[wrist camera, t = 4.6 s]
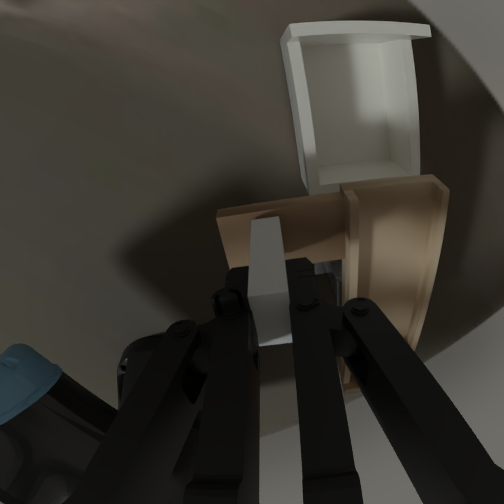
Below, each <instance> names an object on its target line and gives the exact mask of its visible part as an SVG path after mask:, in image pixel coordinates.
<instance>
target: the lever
mask: <svg viewBox="0 0 504 504" xmlns="http://www.w3.org/2000/svg"><path fill="white" fill-rule="evenodd" d="M339 185H340V192H333V193H325V194H318V195H310V196H303V197H296V198H289V199H282V200H275V201H268V202H262V203H255V204H249V205H242V206H236V207H230V208H224V209H218V210H217V215H216V220H217V224H218V228H219V232H220V235H221V239H222V243H223V246H224V250H225V254H226V257H227V261H228V265H229V268H230V269H231V268H235V267H242V266H249V257H250V237H251V220H256V219H262V218H269V217H276V216H279V220H280V227H281V233H282V240H283V247H284V254H285V260H288V259H295V258H302V257H306V258H307V259H308V260H310V261H311V262H312V263H319V262H326V261H332V260H339V259H342V306H344V304H345V303H346V302H347V301H348V300H350V299H352V298H357V297H364V298H368V299H371V300H372V301H373V302H375V303H376V304H377V306H378V307H379V308H380V309H381V311H382V312H383V313H384V314H385V315H386V317H387V318H388V319H389V320H390V322H391V323H392V324H393V325H394V327H395V328H396V329H397V330H398V332H399V333H400V334H401V335H402V337H403V338H404V339H405V340H406V342H407V343H408V344H409V345H410V347H411V348H412V349H413V351H414V352H415V349H416V346H417V343H418V340H419V336H420V333H421V330H422V326H423V323H424V319H425V316H426V312H427V309H428V305H429V301H430V297H431V293H432V289H433V285H434V280H435V276H436V272H437V267H438V262H439V257H440V252H441V247H442V241H443V236H444V230H445V224H446V217H447V210H448V203H449V194H450V190H449V189H448V188H447V187H446V186H445V185H444V184H443V183H442V182H441V181H440V180H438V179H437V178H436V177H435V176H434V175H433V174H428V175H417V176H406V177H395V178H385V179H376V180H366V181H358V182H349V183H341V184H339ZM339 370H340V375H341V380H342V385H343V390H344V394H349V393H355V392H360V391H361V390H360V388H359V386H358V385H357V383H356V381H355V379H354V378H353V376H352V374H351V372H350V371H349V369H348V367H347V365H346V364H345V362H344V360H343V357H340V364H339Z"/></svg>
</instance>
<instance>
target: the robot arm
mask: <svg viewBox="0 0 504 504" xmlns="http://www.w3.org/2000/svg"><path fill="white" fill-rule="evenodd" d="M211 302H212V305H213V308H214V311H215V315H216V318H215V319H213V320H211V321H209V322H207V323H204V324H201V325H198V326H197V324H196V323H195V322H194V321H191V320H181V321H178V322H175V323H174V324H172V325H171V326H170V327H169V328H168V329H167V331H166V332H165V334H164V336H163V337H149V338H144V339H140V340H137V341H135V342H133V343H132V344H130V345H129V346H128V347H127V348H126V349H125V350H124V352H123V354H122V357H121V359H120V362H119V365H118V369H117V385H118V410H116V409H115V408H113V407H112V406H110V405H109V404H107V403H106V402H104V401H103V400H101V399H100V398H99V397H97V396H96V395H94V394H93V393H91V392H90V391H89V390H87V389H86V388H84V387H83V386H82V385H80V384H79V383H78V382H76V381H75V380H74V379H72V378H71V377H70V376H68V375H67V374H66V373H64V372H63V371H62V369H61V368H60V367H59V365H57V364H53V363H51V362H50V361H49V360H47V359H46V358H45V357H43V356H42V355H41V354H39V353H38V352H37V351H35V350H34V349H33V348H32V347H30V346H28V345H26V344H14V345H12V346H10V347H8V348H7V349H6V350H5V351H4V352H3V353H2V354H1V355H0V504H259V431H260V355H259V351H258V343H259V346H266V345H275V344H284V343H293V354H294V365H295V377H296V389H297V402H298V415H299V428H300V443H301V458H302V475H303V480H302V483H303V503H304V504H363V498H362V491H361V485H360V478H359V475H358V473H357V471H356V469H355V465H354V459H353V452H352V446H351V440H350V434H349V428H348V422H347V416H346V411H345V405H344V400H343V394H342V389H341V384H340V379H339V374H338V369H337V364H336V359H335V356H339V357H343V360H344V362H345V364H346V365H347V367H348V369H349V371H350V372H351V374H352V376H353V378H354V379H355V381H356V383H357V385H358V386H359V388H360V390H361V392H362V393H363V395H364V397H365V399H366V400H367V402H368V404H369V406H370V407H371V409H372V411H373V413H374V414H375V416H376V418H377V420H378V422H379V424H380V425H381V427H382V429H383V431H384V433H385V434H386V436H387V438H388V440H389V442H390V443H391V445H392V447H393V449H394V451H395V452H396V454H397V456H398V458H399V460H400V462H401V463H402V465H403V467H404V469H405V471H406V472H407V474H408V476H409V478H410V480H411V482H412V484H413V486H414V487H415V489H416V491H417V493H418V495H419V497H420V499H421V500H422V502H423V504H504V470H503V469H501V468H500V467H499V466H497V465H496V464H494V462H493V461H492V459H491V458H490V456H489V454H488V453H487V451H486V450H485V449H484V447H483V446H482V444H481V443H480V441H479V440H478V439H477V437H476V435H475V434H474V432H473V431H472V429H471V428H470V427H469V425H468V424H467V422H466V421H465V419H464V418H463V417H462V415H461V414H460V412H459V411H458V409H457V408H456V407H455V406H454V404H453V403H452V401H451V400H450V398H449V397H448V396H447V394H446V393H445V392H444V391H443V389H442V388H441V386H440V385H439V384H438V382H437V381H436V380H435V378H434V377H433V375H432V374H431V373H430V371H429V370H428V369H427V368H426V366H425V365H424V364H423V362H422V361H421V360H420V358H419V357H418V356H417V354H416V353H415V352H414V351H413V349H412V348H411V347H410V345H409V344H408V343H407V342H406V340H405V339H404V338H403V337H402V335H401V334H400V333H399V332H398V330H397V329H396V328H395V327H394V325H393V324H392V323H391V322H390V320H389V319H388V318H387V317H386V315H385V314H384V313H383V312H382V311H381V309H380V308H379V307H378V306H377V304H376V303H375V302H373V301H372V300H371V299H368V298H364V297H357V298H352V299H350V300H348V301H347V302H346V303H345V304H344V306H334V305H330V304H327V303H326V302H324V301H323V300H322V299H321V298H320V295H319V291H318V287H317V283H316V278H315V274H314V270H313V266H312V262H311V261H310V260H308V259H307V258H306V257H302V258H295V259H288V260H285V254H284V247H283V240H282V233H281V227H280V220H279V216H276V217H269V218H262V219H256V220H251V237H250V257H249V266H242V267H235V268H231V269H230V271H229V272H228V273H227V275H226V283H225V288H222V289H220V290H219V291H217V292H216V293H214V294H213V296H212V298H211Z"/></svg>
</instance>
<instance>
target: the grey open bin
mask: <svg viewBox="0 0 504 504" xmlns="http://www.w3.org/2000/svg"><path fill="white" fill-rule="evenodd" d="M427 37H431V31H430V25H426V24H417V23H405V22H389V21H323V22H307V23H294V24H289V26H288V27H287V29H286V31H285V32H284V34H283V36H282V37H281V39H280V45H281V51H282V56H283V62H284V67H285V73H286V79H287V85H288V91H289V97H290V103H291V109H292V116H293V122H294V129H295V136H296V143H297V150H298V157H299V165H300V172H301V178H302V180H303V182H304V185H305V187H306V189H307V192H308V194H309V196H310V195H318V194H325V193H333V192H340V185H339V184H341V183H349V182H358V181H366V180H376V179H385V178H395V177H406V176H417V175H420V131H419V111H418V97H417V86H416V76H415V67H414V59H413V51H412V44H411V40H413V39H420V38H427Z"/></svg>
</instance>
